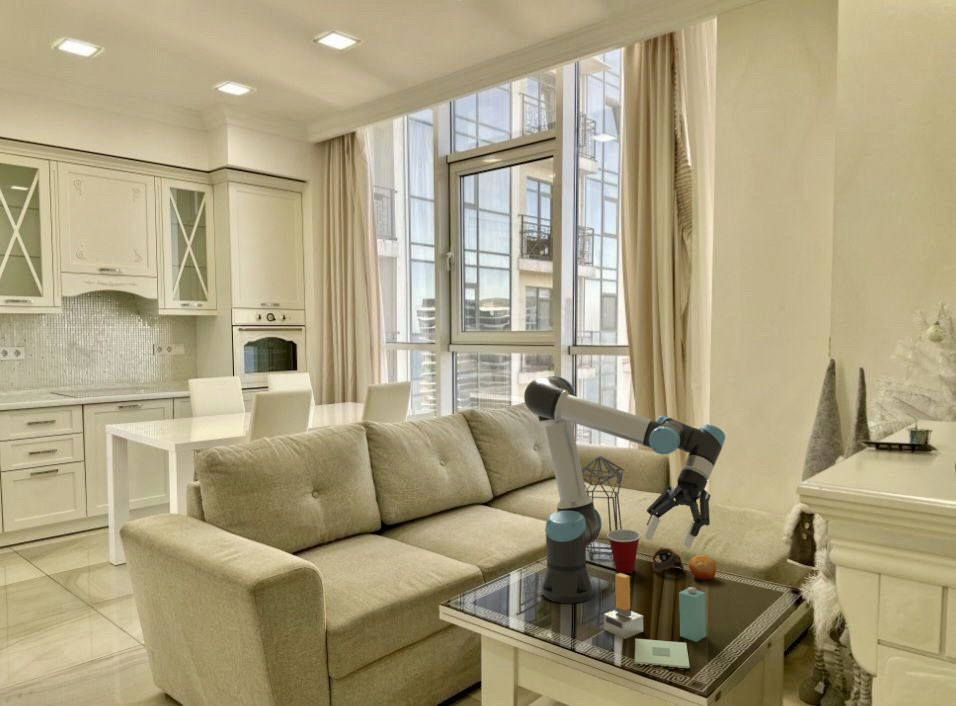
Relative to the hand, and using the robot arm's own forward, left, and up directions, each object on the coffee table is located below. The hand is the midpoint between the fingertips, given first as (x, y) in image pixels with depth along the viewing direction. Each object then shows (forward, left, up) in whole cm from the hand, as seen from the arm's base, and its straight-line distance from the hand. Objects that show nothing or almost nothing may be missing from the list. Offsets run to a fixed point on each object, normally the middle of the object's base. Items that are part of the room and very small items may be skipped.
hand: (665, 542), depth 175 cm
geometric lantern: (-20, +48, -20) cm, 56 cm away
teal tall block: (+6, -12, -20) cm, 24 cm away
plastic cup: (-12, +34, -20) cm, 42 cm away
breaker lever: (-11, -12, -15) cm, 22 cm away
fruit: (+12, +31, -20) cm, 39 cm away
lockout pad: (-2, -24, -20) cm, 31 cm away
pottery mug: (+1, +37, -20) cm, 42 cm away
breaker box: (-11, -12, -20) cm, 26 cm away
